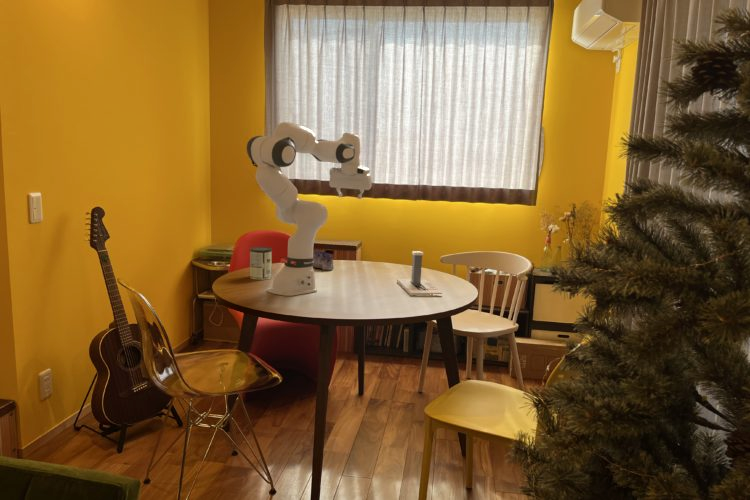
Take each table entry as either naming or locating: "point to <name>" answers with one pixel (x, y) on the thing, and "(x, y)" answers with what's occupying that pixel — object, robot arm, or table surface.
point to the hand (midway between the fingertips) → (350, 197)
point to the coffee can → (260, 263)
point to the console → (414, 291)
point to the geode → (323, 260)
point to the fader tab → (416, 268)
